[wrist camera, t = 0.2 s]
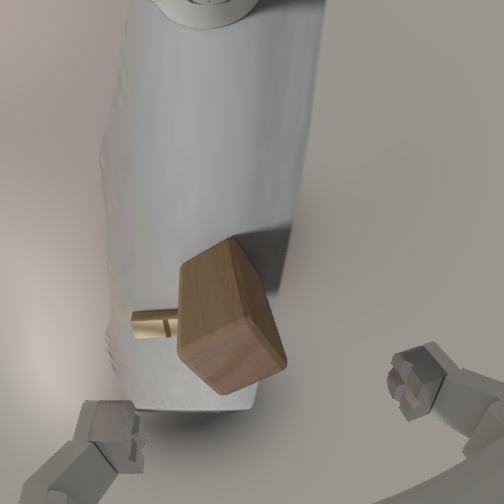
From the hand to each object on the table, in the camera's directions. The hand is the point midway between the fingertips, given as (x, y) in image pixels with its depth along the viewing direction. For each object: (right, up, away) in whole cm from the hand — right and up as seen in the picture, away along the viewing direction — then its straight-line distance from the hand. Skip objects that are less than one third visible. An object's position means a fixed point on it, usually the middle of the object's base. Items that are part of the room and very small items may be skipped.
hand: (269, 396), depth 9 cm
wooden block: (-6, +1, +44) cm, 44 cm away
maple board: (-11, -7, +47) cm, 49 cm away
